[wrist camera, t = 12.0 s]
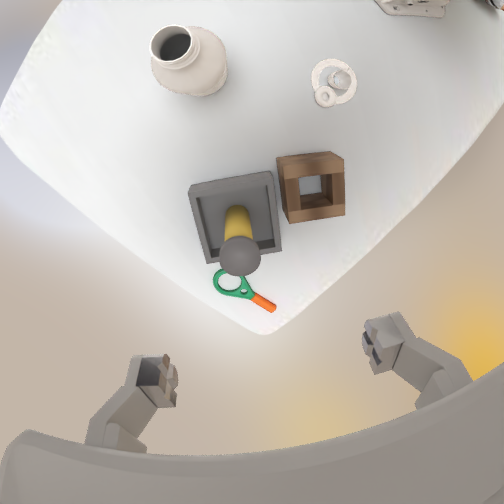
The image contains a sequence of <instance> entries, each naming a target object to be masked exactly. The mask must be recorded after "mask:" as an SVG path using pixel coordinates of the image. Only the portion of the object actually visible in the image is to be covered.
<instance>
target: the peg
mask: <svg viewBox="0 0 504 504" xmlns="http://www.w3.org/2000/svg"><path fill="white" fill-rule="evenodd" d="M219 261H220V265H221V267H222V268H223V270H224V271H225V272H227V273H228V274H230V275H233V276H246V275H249V274H251V273H253V272H254V271H255V270H256V269H257V268H258V266H259V265H260V261H261V256H260V250H259V247H258V245H257V243H256V242H255V241H254V240H253V236H252V230H251V224H250V217H249V212H248V210H247V209H246V208H245V207H244V206H241V205H233V206H231V207H229V208H228V209H227V211H226V214H225V242H224V243H223V244H222V246H221V248H220V256H219Z"/></svg>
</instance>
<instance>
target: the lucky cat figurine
mask: <svg viewBox="0 0 504 504" xmlns="http://www.w3.org/2000/svg"><path fill="white" fill-rule="evenodd" d="M485 1H486V2H487V3H488V4H489V5H491V6H493V7H494V8H497V9H501V10H503V11H504V0H485Z"/></svg>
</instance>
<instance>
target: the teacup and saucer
mask: <svg viewBox="0 0 504 504" xmlns="http://www.w3.org/2000/svg"><path fill="white" fill-rule="evenodd" d="M329 66H336V67H339V68H341V69H342V70H338V71H336V72H333V73H331V74H330V75H329V77H328V83H329V84H330V85H331V86H332V87H334V88H337V89H348V88H349V89H348V90H347V92H346V93H345V94H343V95H341V96H336V93H335V91H334V90H333V89H332V88H331V87H329V86H320V84H319V75H320V73H321V71H322V70H323V69H324V68H326V67H329ZM334 76H336V77H338V79H339V83H338V84H337V85H336V84H335V82H334ZM311 83H312V87H313V89H314V91H315V99H316V101H317V103H318V104H319V105H321V106H323V107H331V106H333V105H334V104H342V103H345V102H347V101H349V100H350V99H351V98H352V97H353V96H354V94H355V92H356V89H357V79H356V76H355V73H354V72H353V70H352V69H351V67H350V66H349V65H347V64H346V63H345V62H343V61H341V60H338V59H325V60H323V61H321V62H319V63H318V64H317V65H316V66H315V67H314V69H313V71H312V74H311ZM326 93H327V94H326Z"/></svg>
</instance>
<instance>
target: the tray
mask: <svg viewBox="0 0 504 504" xmlns="http://www.w3.org/2000/svg"><path fill="white" fill-rule="evenodd" d="M188 196H189V200H190V204H191V208H192V212H193V215H194V219H195V223H196V227H197V230H198V234H199V238H200V241H201V245H202V248H203V252H204V256H205V259H206V263H207V264H209V263H215V262H220V261H219V256H220V248H221V246H222V244H223V243H224V242H225V214H226V211H227V209H228V208H229V207H231V206H233V205H241V206H244V207H245V208H246V209H247V210H248V212H249V217H250V224H251V230H252V236H253V240H254V241H255V242H256V243H257V245H258V247H259V250H260V255H263V254H268V253H274V252H280V251H282V247H281V238H280V230H279V221H278V213H277V205H276V197H275V189H274V182H273V177H272V175H271V173H270V171H267V172H260V173H254V174H248V175H242V176H236V177H231V178H225V179H220V180H215V181H210V182H205V183H200V184H195V185H191V187H190V189H189V191H188Z"/></svg>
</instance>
